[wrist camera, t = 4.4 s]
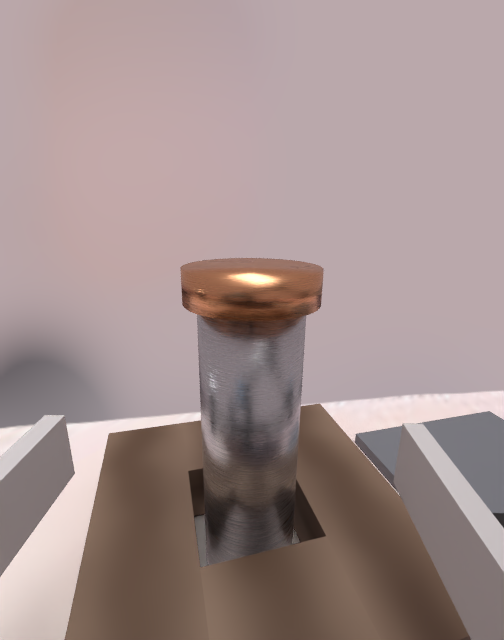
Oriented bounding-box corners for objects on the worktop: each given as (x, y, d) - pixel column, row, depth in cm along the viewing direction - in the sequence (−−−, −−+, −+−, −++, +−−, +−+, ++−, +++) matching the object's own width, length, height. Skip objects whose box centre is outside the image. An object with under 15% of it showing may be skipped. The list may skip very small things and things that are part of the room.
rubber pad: (487, 418, 32) (489, 411, 32) (711, 557, 19) (717, 546, 19) (355, 442, 28) (356, 433, 28) (519, 631, 16) (524, 618, 15)
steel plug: (281, 498, 23) (291, 257, 18) (321, 589, 17) (351, 276, 13) (190, 517, 21) (176, 259, 17) (202, 623, 16) (186, 282, 11)
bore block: (316, 440, 29) (319, 403, 28) (487, 680, 14) (507, 621, 13) (114, 474, 25) (108, 433, 24) (52, 864, 10) (30, 799, 9)
